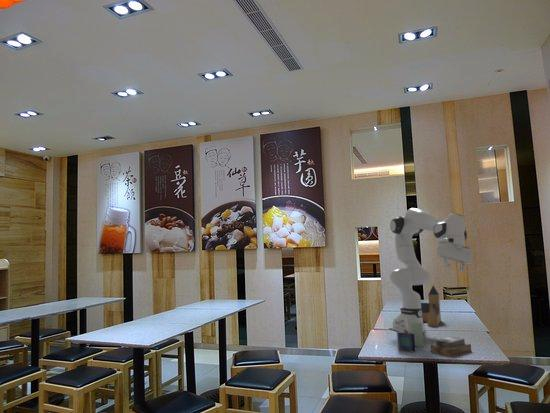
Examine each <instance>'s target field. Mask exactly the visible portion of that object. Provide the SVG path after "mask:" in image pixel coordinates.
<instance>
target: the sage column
mask: <svg viewBox="0 0 550 413" xmlns="http://www.w3.org/2000/svg"><path fill="white" fill-rule="evenodd" d="M411 327H412V332H411V333H414V339H415V348H416V347H417V348H421V347H424V345H425V344H424V332H423V327H422V323H419V322H414V323H411Z"/></svg>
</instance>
